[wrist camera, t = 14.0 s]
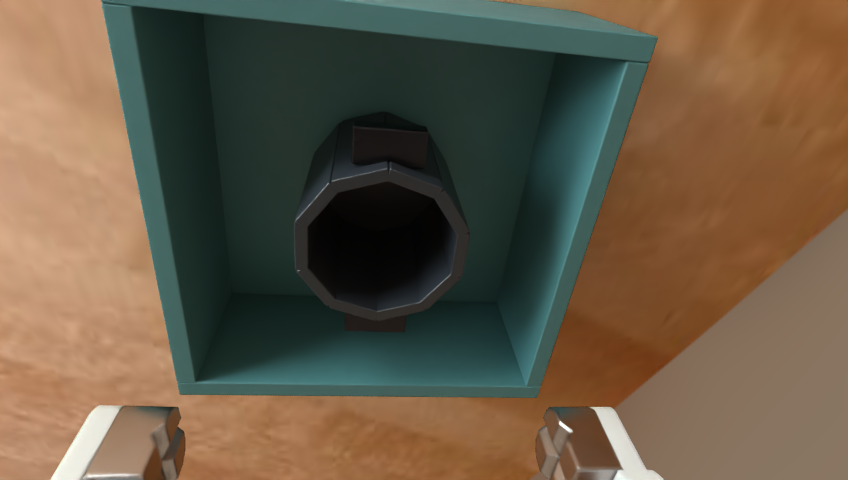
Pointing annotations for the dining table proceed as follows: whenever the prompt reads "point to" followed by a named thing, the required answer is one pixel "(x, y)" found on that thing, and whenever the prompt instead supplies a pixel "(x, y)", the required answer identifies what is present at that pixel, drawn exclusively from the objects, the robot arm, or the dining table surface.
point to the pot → (379, 223)
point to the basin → (309, 127)
